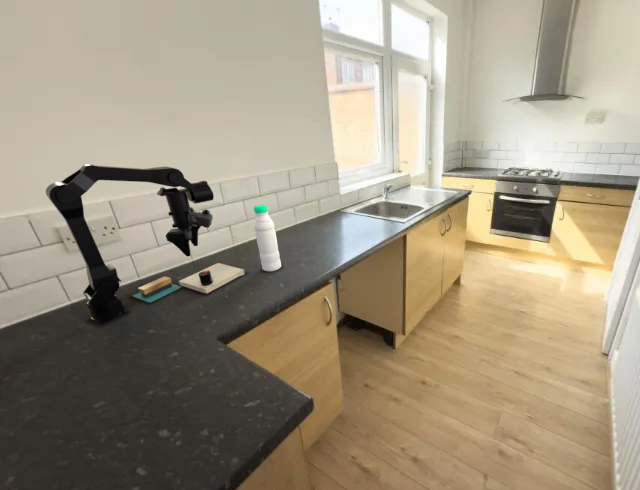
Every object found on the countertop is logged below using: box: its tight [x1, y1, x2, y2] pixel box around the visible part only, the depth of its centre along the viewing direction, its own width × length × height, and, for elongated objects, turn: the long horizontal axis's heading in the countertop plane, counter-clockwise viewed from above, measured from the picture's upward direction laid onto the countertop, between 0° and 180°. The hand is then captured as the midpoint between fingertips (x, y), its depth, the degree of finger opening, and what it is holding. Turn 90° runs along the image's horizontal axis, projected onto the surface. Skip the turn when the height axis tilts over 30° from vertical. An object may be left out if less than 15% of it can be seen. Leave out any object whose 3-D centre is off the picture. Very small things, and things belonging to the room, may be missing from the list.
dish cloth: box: [132, 282, 182, 304], centre depth 109 cm, size 11×10×1 cm
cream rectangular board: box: [178, 262, 246, 294], centre depth 115 cm, size 17×15×2 cm
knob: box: [198, 270, 213, 286], centre depth 108 cm, size 4×4×4 cm
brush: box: [137, 276, 173, 298], centre depth 108 cm, size 9×3×3 cm, turn 154°
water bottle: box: [253, 204, 282, 273], centre depth 118 cm, size 7×7×25 cm
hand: (192, 250), depth 110 cm, fingers open, 9 cm apart
